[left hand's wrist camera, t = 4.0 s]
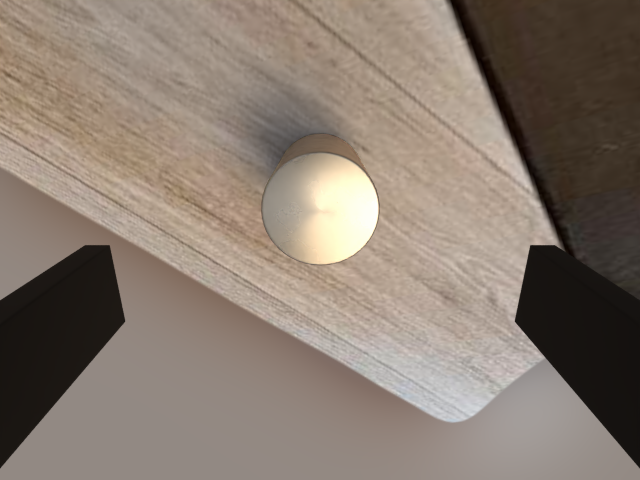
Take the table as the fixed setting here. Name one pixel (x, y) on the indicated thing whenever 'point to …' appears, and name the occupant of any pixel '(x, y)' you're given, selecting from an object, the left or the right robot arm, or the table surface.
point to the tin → (320, 201)
